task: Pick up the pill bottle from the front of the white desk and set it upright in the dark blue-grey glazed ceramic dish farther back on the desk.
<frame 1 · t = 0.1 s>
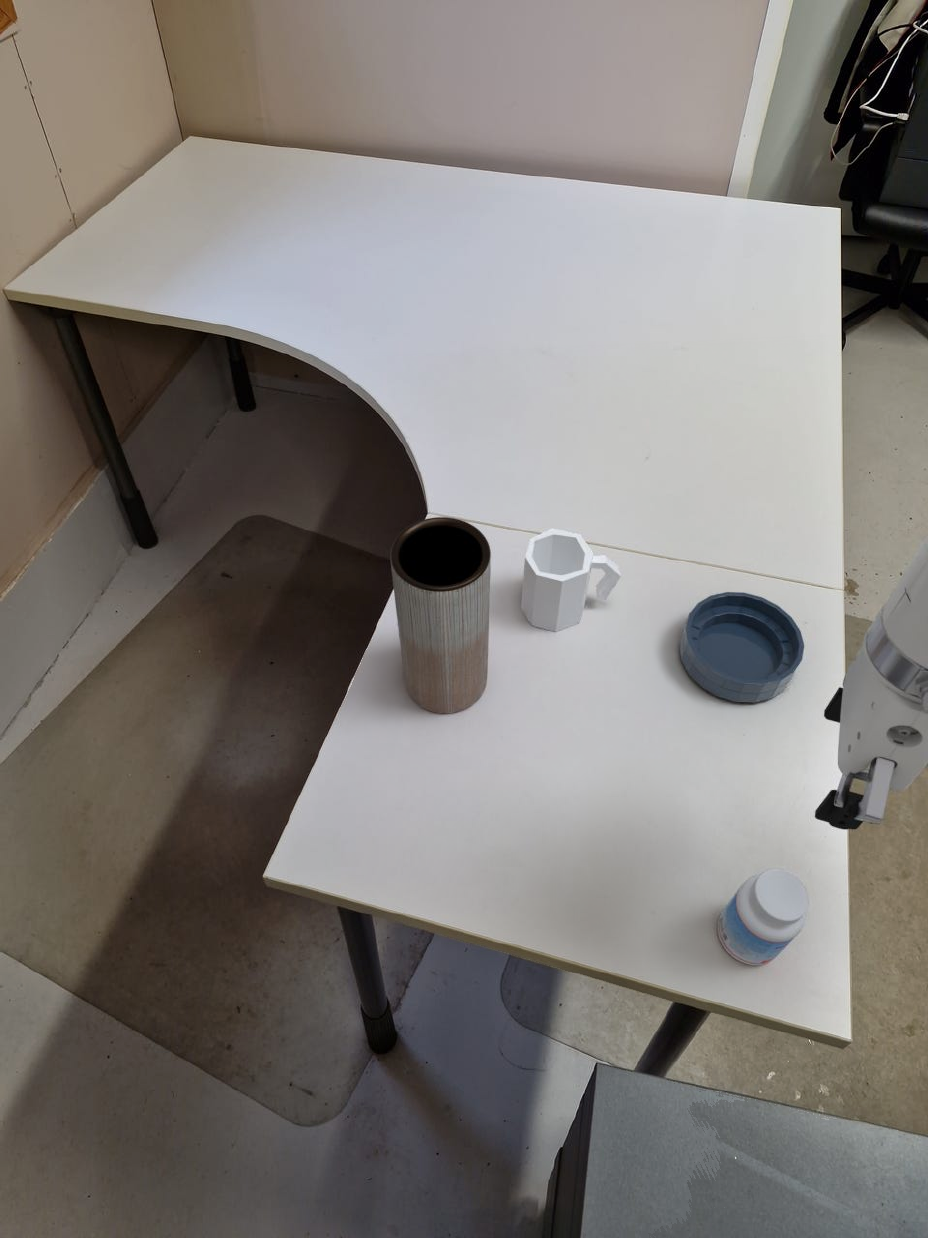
hand: (838, 768, 68), 22 cm above the table, tool pointing down, fingers open, 9 cm apart
mug: (566, 605, 106), on the table
pill bottle: (747, 935, 81), on the table
dish: (734, 657, 101), on the table
planter: (446, 680, 99), on the table
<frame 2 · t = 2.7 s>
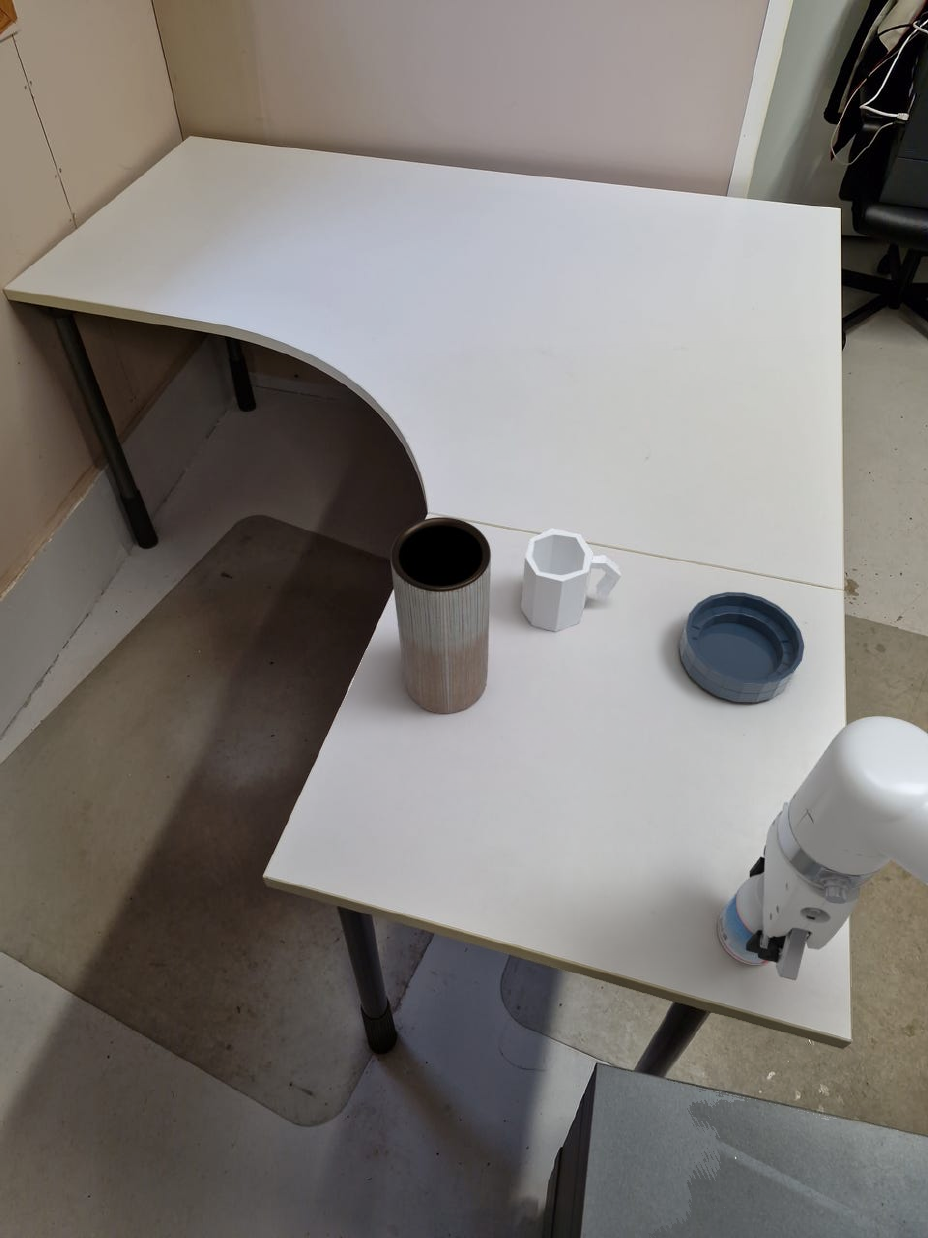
hand: (765, 914, 76), 6 cm above the table, tool pointing down, fingers closed on pill bottle, 6 cm apart
pill bottle: (747, 935, 81), on the table, touching gripper
everything else where it was.
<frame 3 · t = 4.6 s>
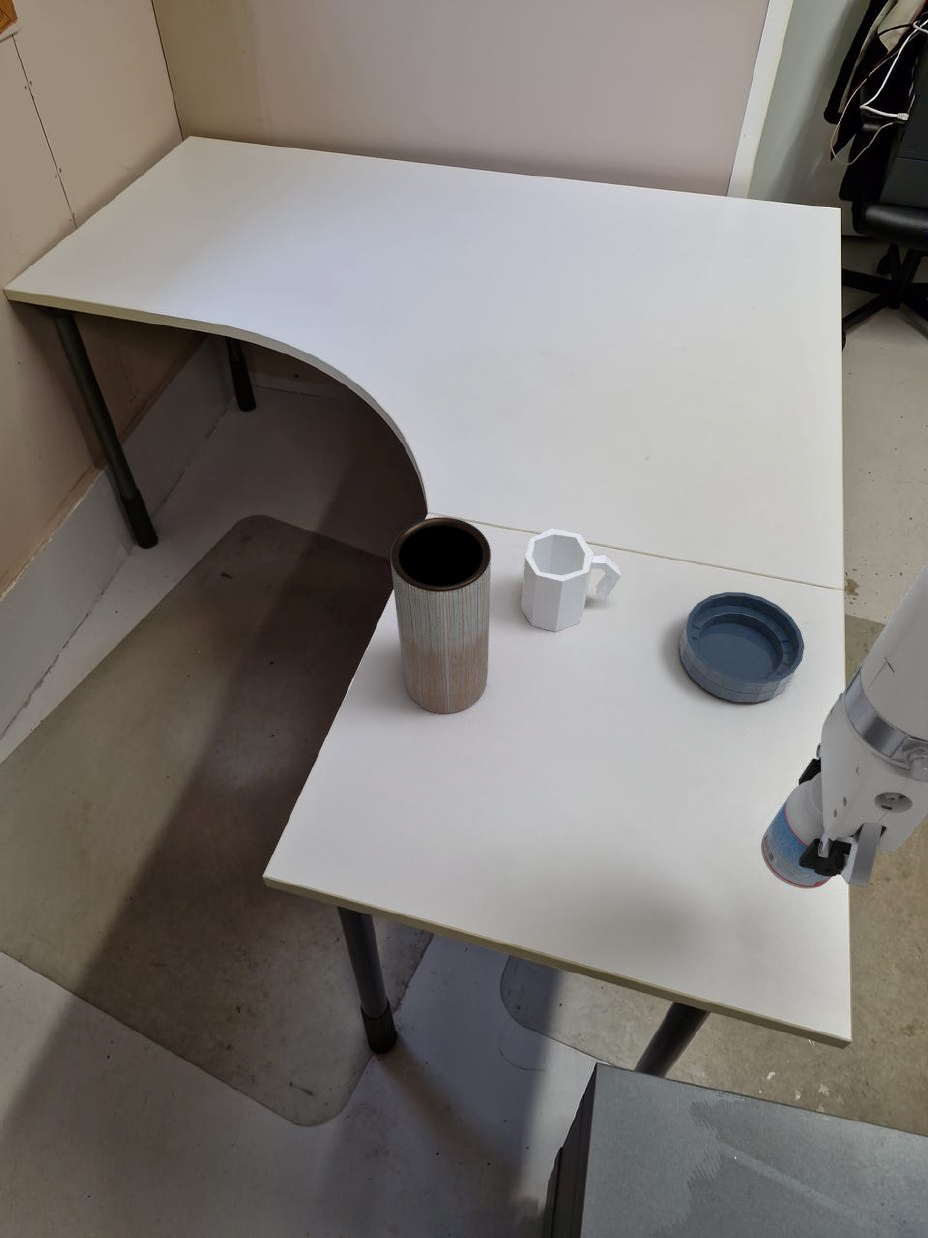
hand: (819, 825, 65), 21 cm above the table, tool pointing down, fingers closed on pill bottle, 6 cm apart
pill bottle: (795, 856, 70), point 15 cm above the table, touching gripper
everything else where it was.
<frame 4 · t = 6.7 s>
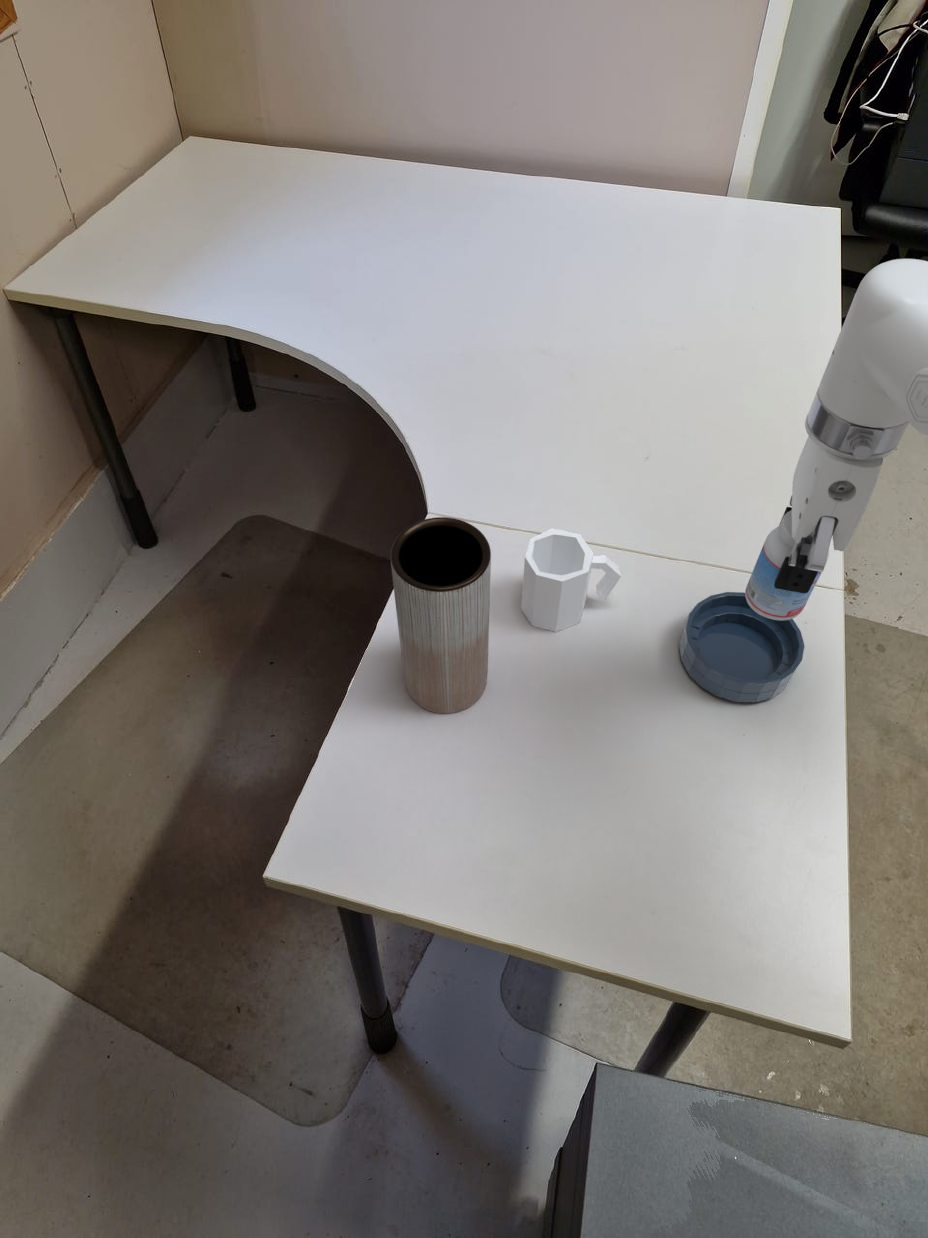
hand: (791, 562, 82), 21 cm above the table, tool pointing down, fingers closed on pill bottle, 6 cm apart
pill bottle: (772, 601, 87), point 15 cm above the table, touching gripper
everything else where it was.
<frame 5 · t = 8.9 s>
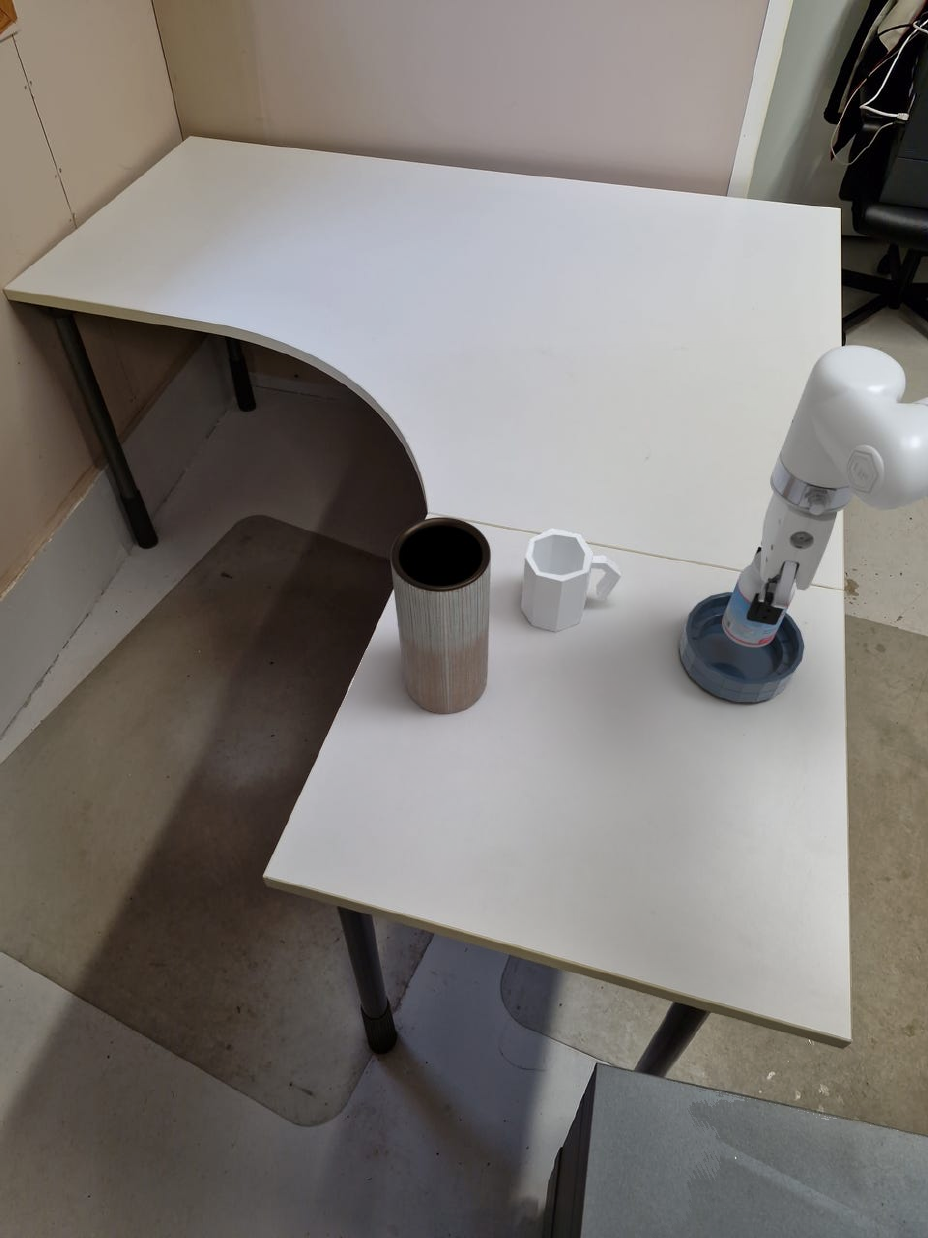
hand: (762, 596, 91), 12 cm above the table, tool pointing down, fingers closed on pill bottle, 6 cm apart
pill bottle: (747, 629, 96), point 6 cm above the table, touching gripper
everything else where it was.
when the fingers open (7 cm above the table, at t = 10.7 s): pill bottle stays where it is, resting on dish.
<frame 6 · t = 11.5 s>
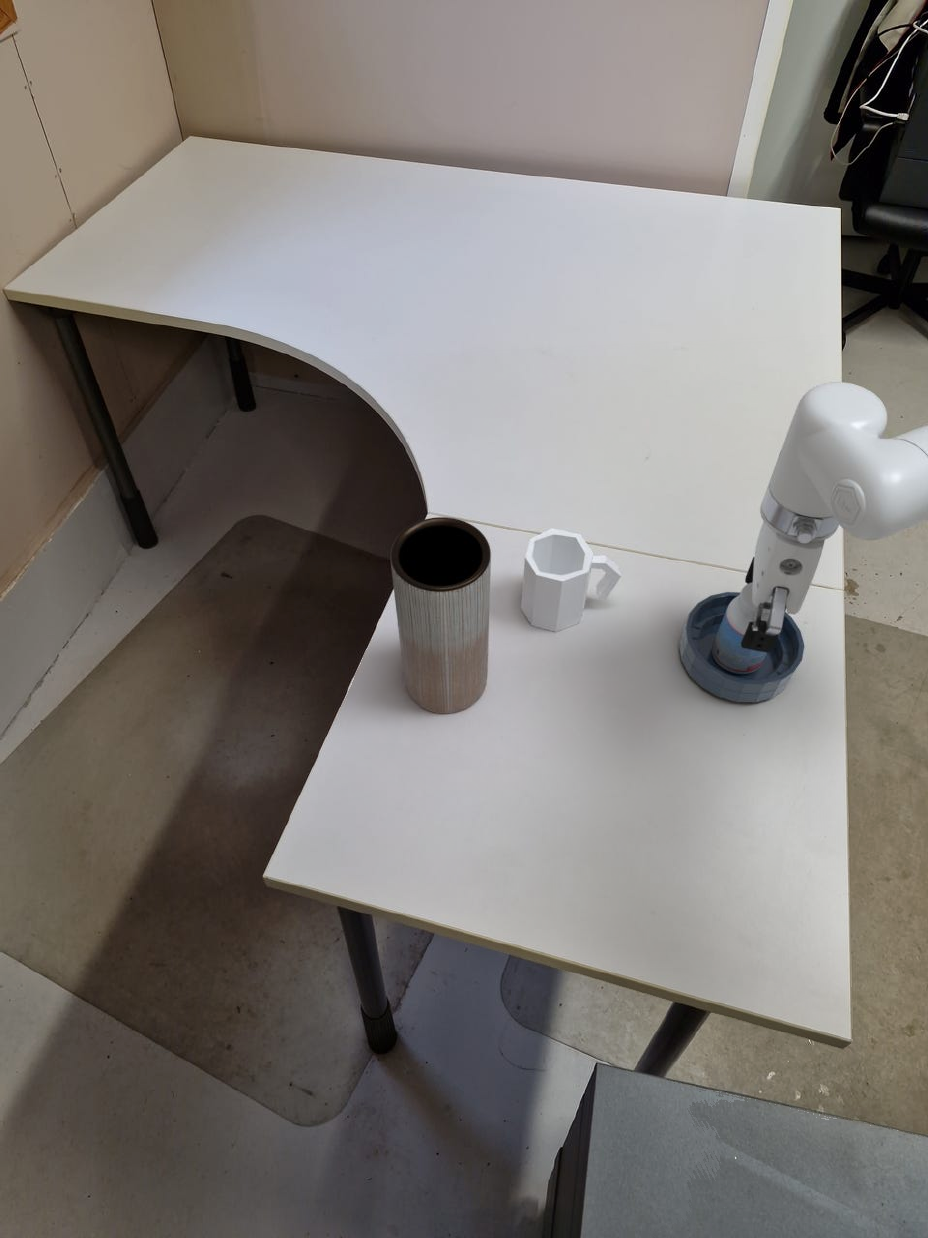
hand: (756, 615, 93), 9 cm above the table, tool pointing down, fingers open, 9 cm apart
pill bottle: (735, 656, 100), resting on dish
everything else where it was.
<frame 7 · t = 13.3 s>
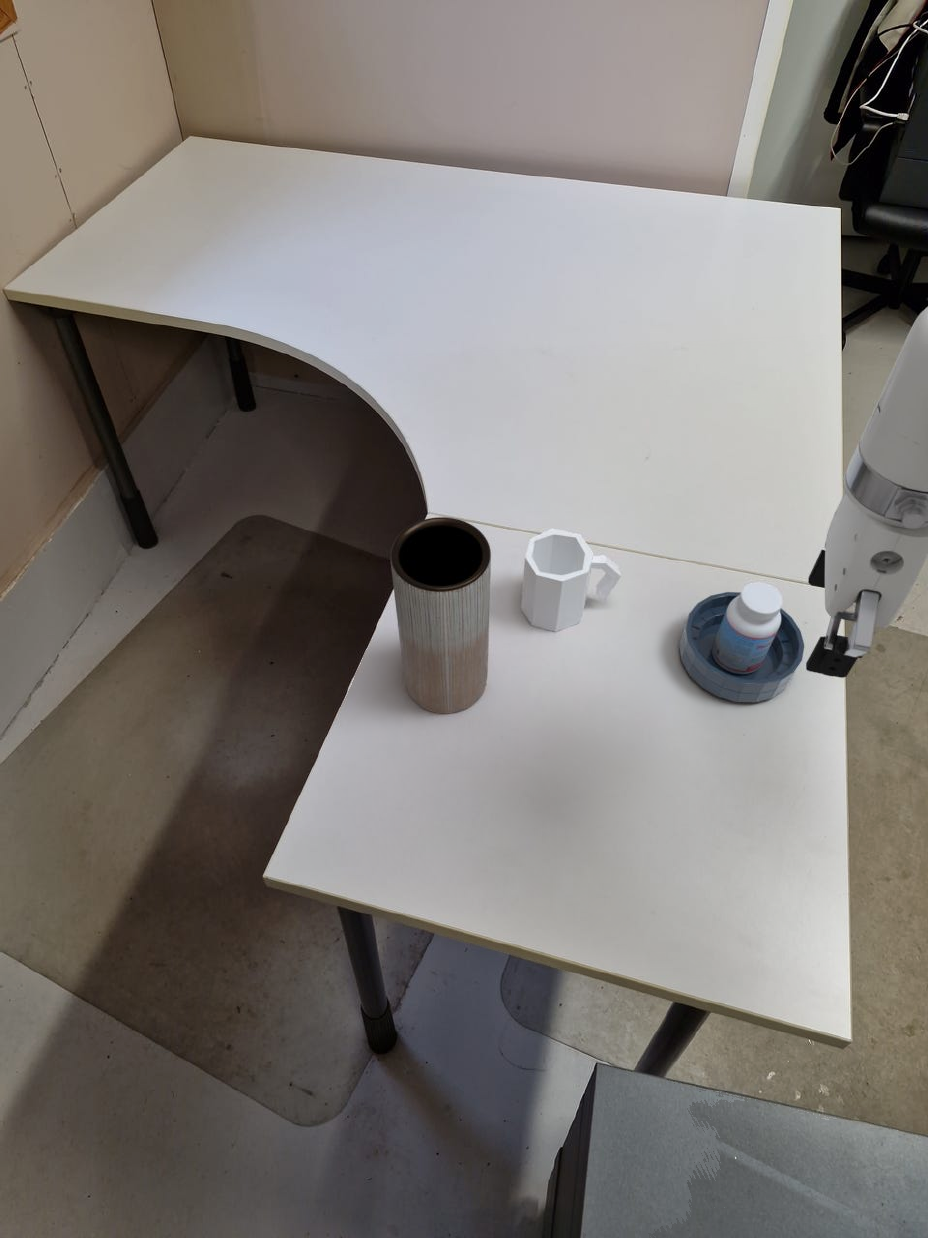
hand: (825, 626, 71), 26 cm above the table, tool pointing down, fingers open, 9 cm apart
nothing on the table moved.
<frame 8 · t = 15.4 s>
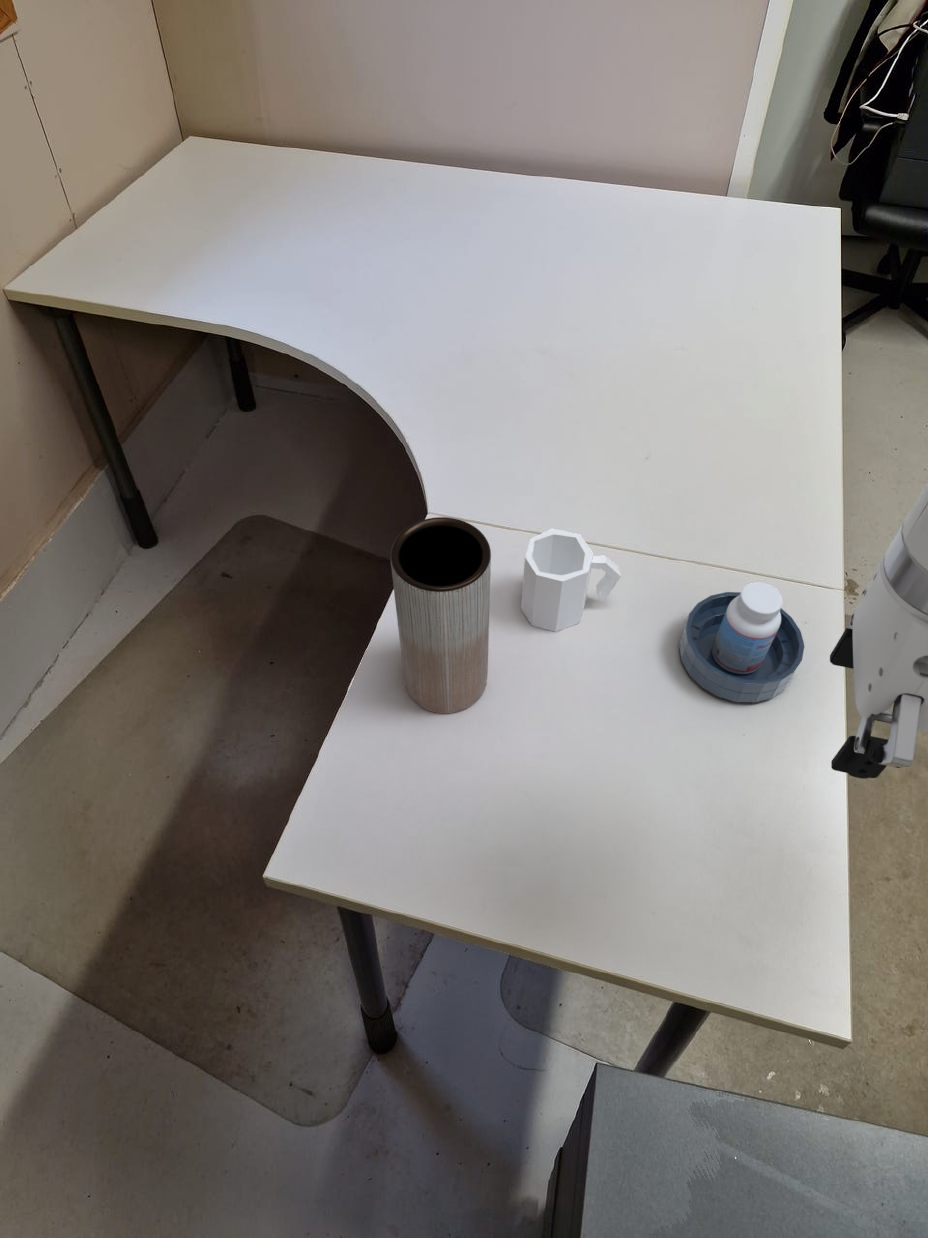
hand: (850, 715, 63), 28 cm above the table, tool pointing down, fingers open, 9 cm apart
nothing on the table moved.
at the end: pill bottle inside the target area in the dish (0.1 cm from its centre), point 0.4 cm above the dish's base; pill bottle tilted 0°; the gripper is holding nothing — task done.
